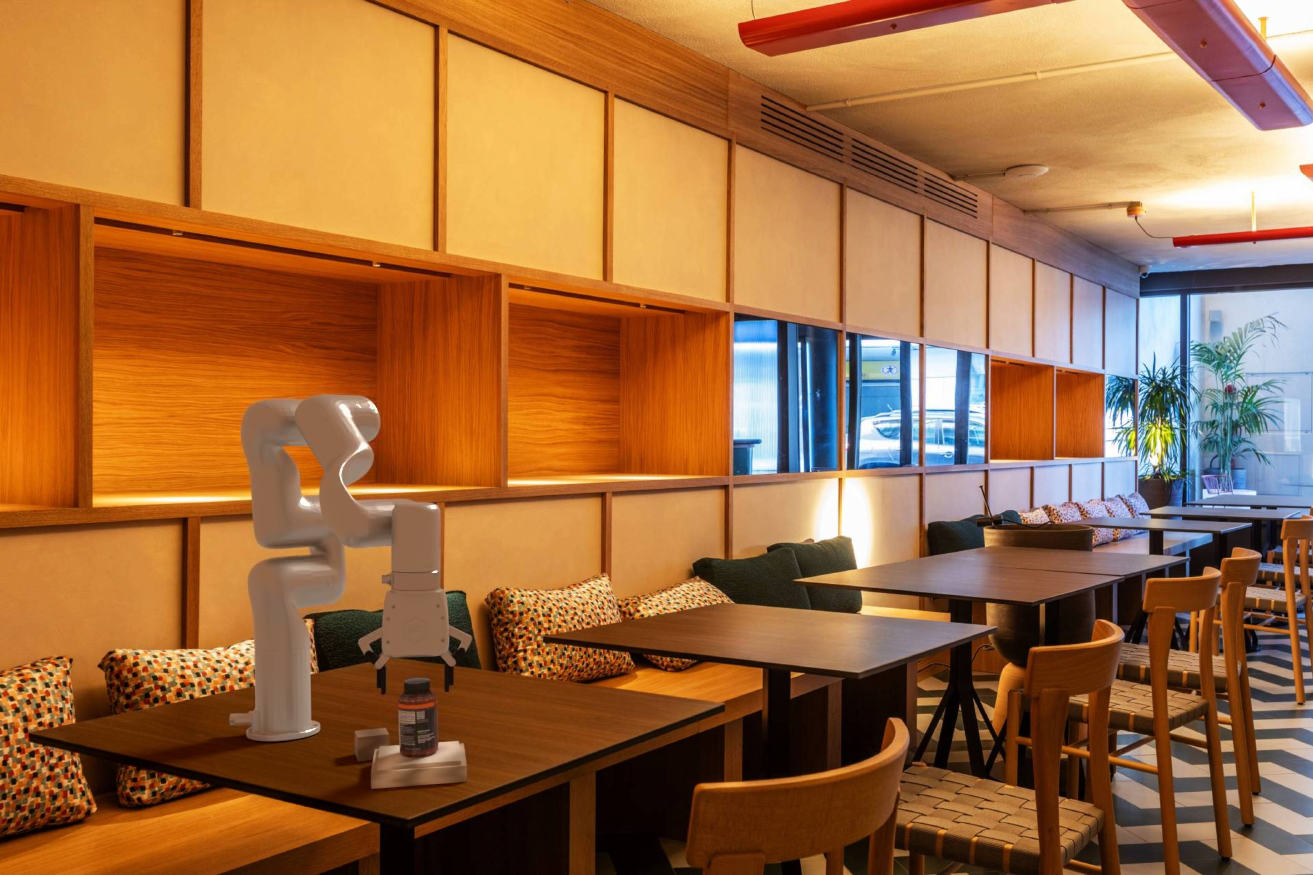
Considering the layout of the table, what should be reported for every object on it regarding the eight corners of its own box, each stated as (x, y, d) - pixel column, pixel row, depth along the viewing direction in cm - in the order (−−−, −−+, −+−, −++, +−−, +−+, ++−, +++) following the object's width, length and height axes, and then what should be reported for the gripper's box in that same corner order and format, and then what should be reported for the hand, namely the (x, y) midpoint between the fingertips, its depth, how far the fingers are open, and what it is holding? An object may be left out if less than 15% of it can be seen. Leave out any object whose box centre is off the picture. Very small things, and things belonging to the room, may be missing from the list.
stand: (371, 788, 169) (370, 768, 169) (375, 764, 182) (374, 745, 182) (467, 781, 172) (466, 761, 172) (463, 757, 185) (463, 739, 185)
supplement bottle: (421, 746, 181) (420, 674, 182) (446, 751, 178) (445, 678, 178) (391, 754, 177) (389, 680, 177) (415, 760, 173) (414, 685, 173)
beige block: (358, 762, 185) (357, 737, 185) (355, 754, 189) (354, 730, 189) (389, 758, 186) (389, 734, 186) (385, 751, 191) (385, 727, 191)
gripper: (357, 586, 172) (356, 699, 172) (473, 583, 176) (472, 694, 176) (359, 579, 180) (359, 688, 180) (471, 577, 183) (470, 684, 183)
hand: (415, 691), depth 178 cm, fingers open, 9 cm apart
